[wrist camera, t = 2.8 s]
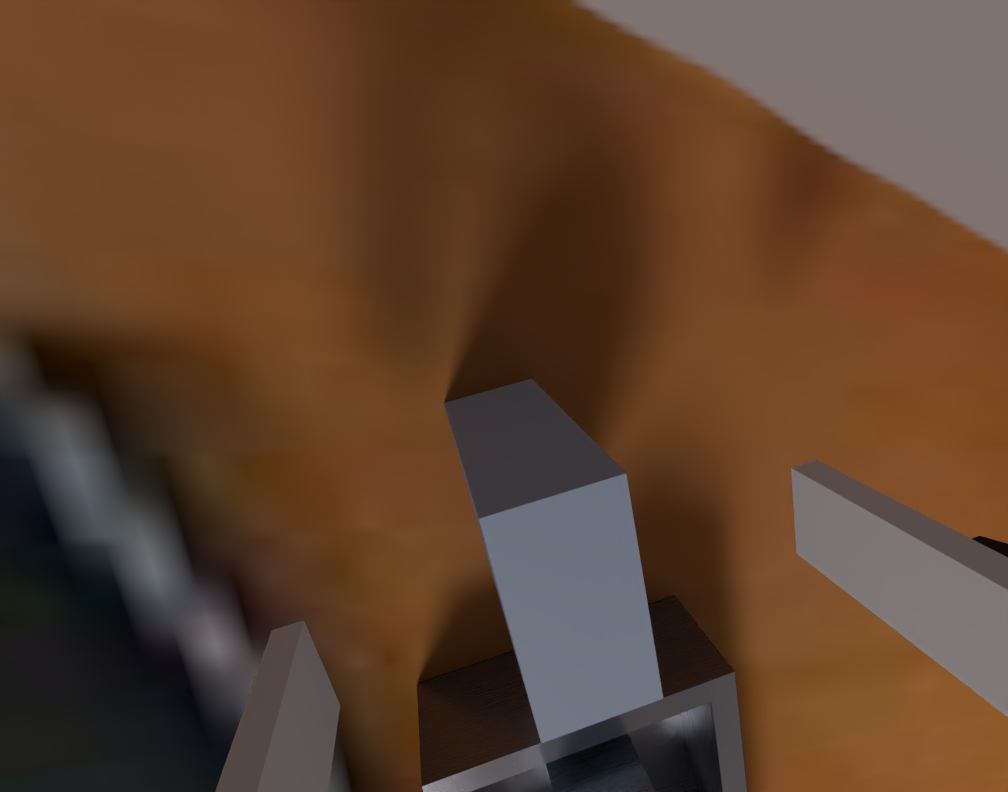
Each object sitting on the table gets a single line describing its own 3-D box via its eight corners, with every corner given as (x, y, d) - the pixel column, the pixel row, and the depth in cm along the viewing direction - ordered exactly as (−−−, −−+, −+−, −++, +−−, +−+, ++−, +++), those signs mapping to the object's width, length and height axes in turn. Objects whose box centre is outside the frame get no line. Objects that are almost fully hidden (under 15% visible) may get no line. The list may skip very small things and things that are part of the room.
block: (444, 402, 18) (479, 518, 10) (531, 378, 18) (626, 473, 11) (486, 555, 20) (540, 743, 12) (564, 530, 20) (663, 698, 13)
